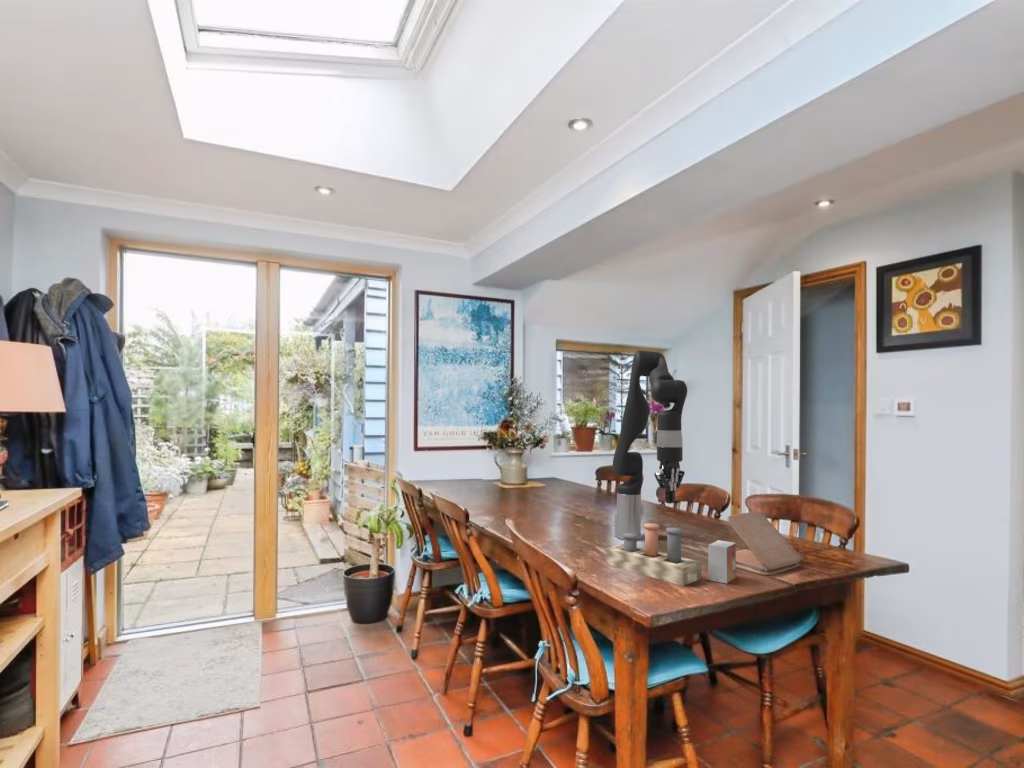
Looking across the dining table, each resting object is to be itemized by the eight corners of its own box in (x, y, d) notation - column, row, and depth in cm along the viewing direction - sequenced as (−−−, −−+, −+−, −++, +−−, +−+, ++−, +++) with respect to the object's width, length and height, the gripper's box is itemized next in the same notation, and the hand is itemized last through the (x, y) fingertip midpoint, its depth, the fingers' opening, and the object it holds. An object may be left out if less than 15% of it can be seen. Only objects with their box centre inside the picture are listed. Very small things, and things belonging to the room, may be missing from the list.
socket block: (605, 563, 178) (605, 548, 178) (624, 558, 185) (624, 543, 185) (682, 586, 157) (682, 568, 157) (701, 579, 164) (701, 562, 164)
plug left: (620, 565, 177) (620, 534, 178) (628, 562, 180) (628, 532, 181) (631, 568, 174) (631, 537, 174) (640, 565, 177) (640, 534, 177)
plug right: (663, 561, 165) (663, 529, 166) (671, 559, 168) (671, 526, 169) (676, 565, 162) (676, 531, 162) (685, 562, 165) (685, 529, 165)
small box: (727, 584, 159) (726, 547, 160) (707, 580, 163) (707, 544, 163) (736, 578, 165) (736, 542, 166) (717, 574, 169) (717, 539, 169)
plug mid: (640, 556, 171) (641, 524, 172) (649, 553, 174) (649, 522, 175) (653, 559, 168) (653, 527, 168) (662, 556, 171) (662, 525, 171)
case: (767, 578, 166) (768, 524, 167) (708, 561, 184) (709, 512, 184) (804, 568, 177) (804, 518, 178) (745, 553, 195) (745, 507, 196)
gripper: (671, 444, 174) (671, 499, 173) (646, 445, 166) (646, 503, 165) (692, 445, 169) (693, 502, 168) (667, 446, 160) (668, 506, 159)
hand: (670, 503), depth 166 cm, fingers closed
